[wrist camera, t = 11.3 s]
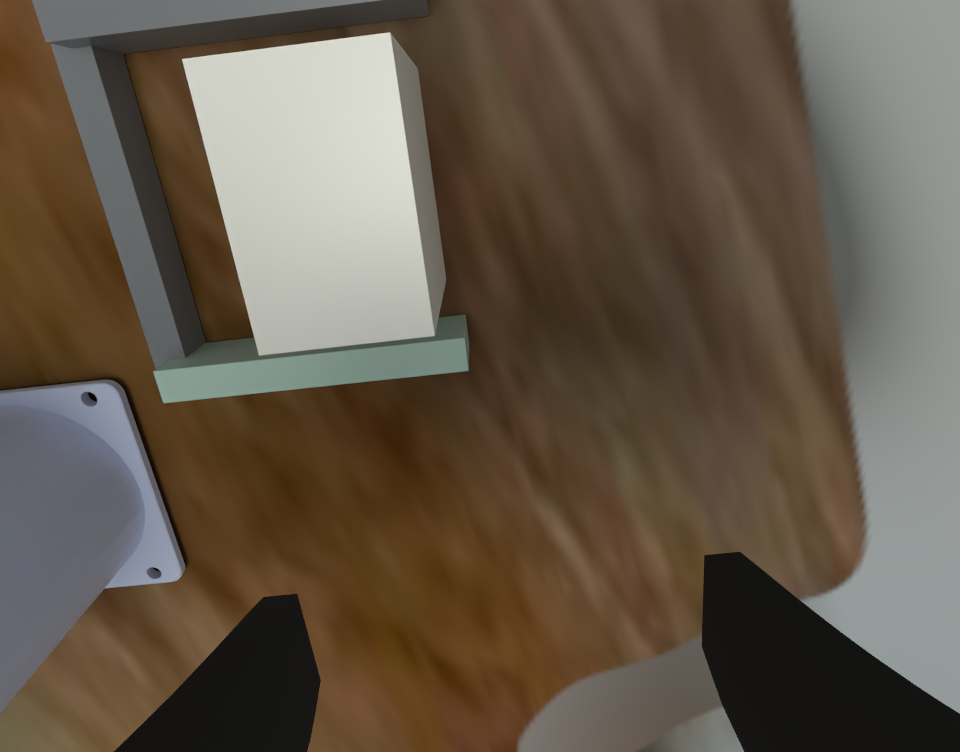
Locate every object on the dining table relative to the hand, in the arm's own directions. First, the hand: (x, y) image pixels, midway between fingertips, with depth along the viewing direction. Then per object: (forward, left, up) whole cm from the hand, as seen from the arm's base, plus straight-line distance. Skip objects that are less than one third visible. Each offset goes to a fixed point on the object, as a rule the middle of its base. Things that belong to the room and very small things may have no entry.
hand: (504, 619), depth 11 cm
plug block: (-3, +7, -10) cm, 13 cm away
